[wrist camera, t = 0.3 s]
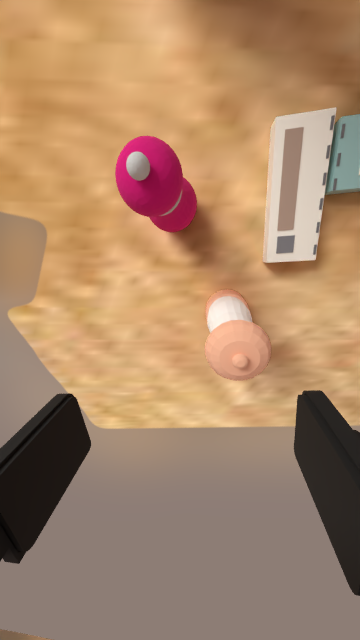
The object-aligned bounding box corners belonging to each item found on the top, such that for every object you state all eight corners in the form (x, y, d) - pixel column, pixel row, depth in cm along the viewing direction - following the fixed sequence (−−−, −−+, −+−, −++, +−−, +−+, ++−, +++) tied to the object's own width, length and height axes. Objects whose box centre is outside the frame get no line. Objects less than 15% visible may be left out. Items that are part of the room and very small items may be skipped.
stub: (331, 127, 28) (342, 116, 25) (381, 120, 27) (398, 107, 24) (321, 195, 30) (331, 190, 28) (367, 190, 29) (382, 185, 27)
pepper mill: (207, 204, 33) (205, 145, 14) (180, 243, 35) (147, 237, 16) (171, 173, 32) (117, 68, 13) (145, 215, 34) (71, 176, 16)
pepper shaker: (253, 315, 38) (293, 377, 20) (218, 333, 40) (225, 404, 22) (234, 281, 36) (259, 314, 18) (198, 302, 38) (189, 350, 20)
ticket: (270, 127, 29) (276, 116, 26) (325, 119, 28) (337, 106, 25) (262, 261, 34) (266, 262, 32) (307, 259, 33) (315, 259, 31)
